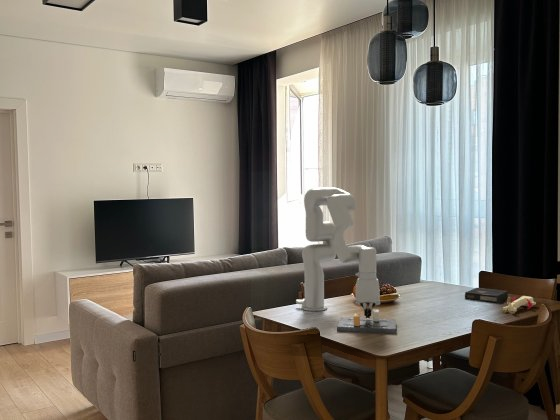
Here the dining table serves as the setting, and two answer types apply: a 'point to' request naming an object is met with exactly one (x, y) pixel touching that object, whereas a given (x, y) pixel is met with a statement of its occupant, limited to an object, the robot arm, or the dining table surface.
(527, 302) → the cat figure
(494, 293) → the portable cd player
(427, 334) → the dining table surface
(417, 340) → the dining table surface
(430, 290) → the dining table surface
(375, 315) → the cream fader
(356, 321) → the orange fader
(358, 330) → the console
